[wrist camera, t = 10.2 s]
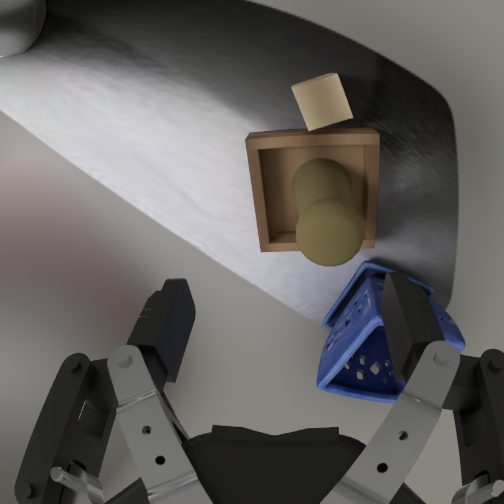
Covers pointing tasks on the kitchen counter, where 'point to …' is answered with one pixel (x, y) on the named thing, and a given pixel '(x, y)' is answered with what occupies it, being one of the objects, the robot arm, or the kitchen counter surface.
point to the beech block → (322, 101)
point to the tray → (287, 163)
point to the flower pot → (368, 339)
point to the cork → (326, 213)
